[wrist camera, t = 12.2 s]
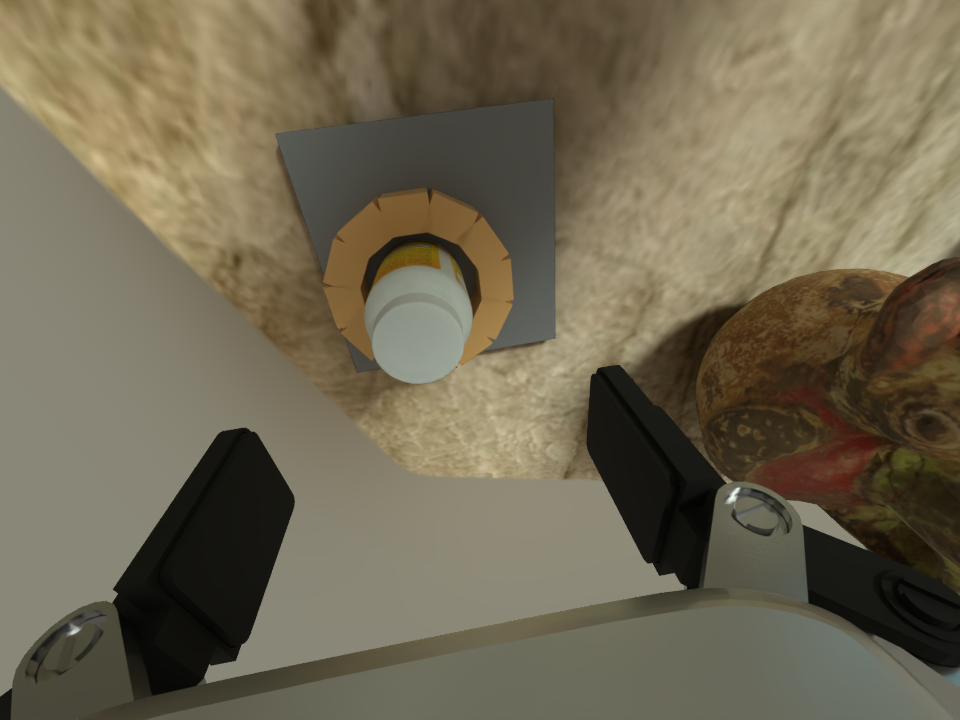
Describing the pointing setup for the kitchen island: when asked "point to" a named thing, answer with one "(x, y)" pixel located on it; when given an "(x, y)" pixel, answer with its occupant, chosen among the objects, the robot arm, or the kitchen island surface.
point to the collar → (406, 218)
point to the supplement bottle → (418, 312)
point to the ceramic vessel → (848, 405)
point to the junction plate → (453, 171)
